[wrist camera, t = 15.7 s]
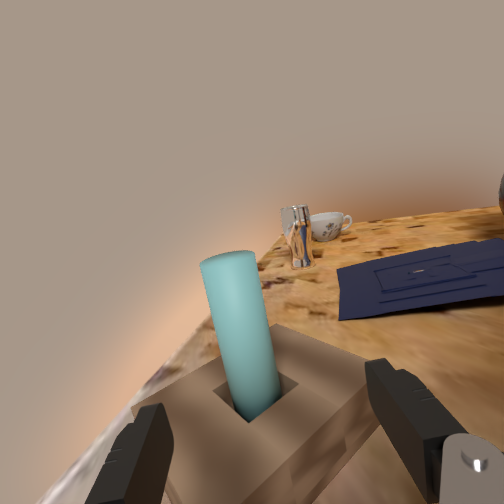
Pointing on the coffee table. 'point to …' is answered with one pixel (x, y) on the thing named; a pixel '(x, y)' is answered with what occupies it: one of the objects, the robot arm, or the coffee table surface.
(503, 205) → the amphora vase
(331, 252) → the coffee table surface
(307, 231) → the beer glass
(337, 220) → the teacup
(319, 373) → the walnut block
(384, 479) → the coffee table surface
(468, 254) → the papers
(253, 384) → the teal pin
